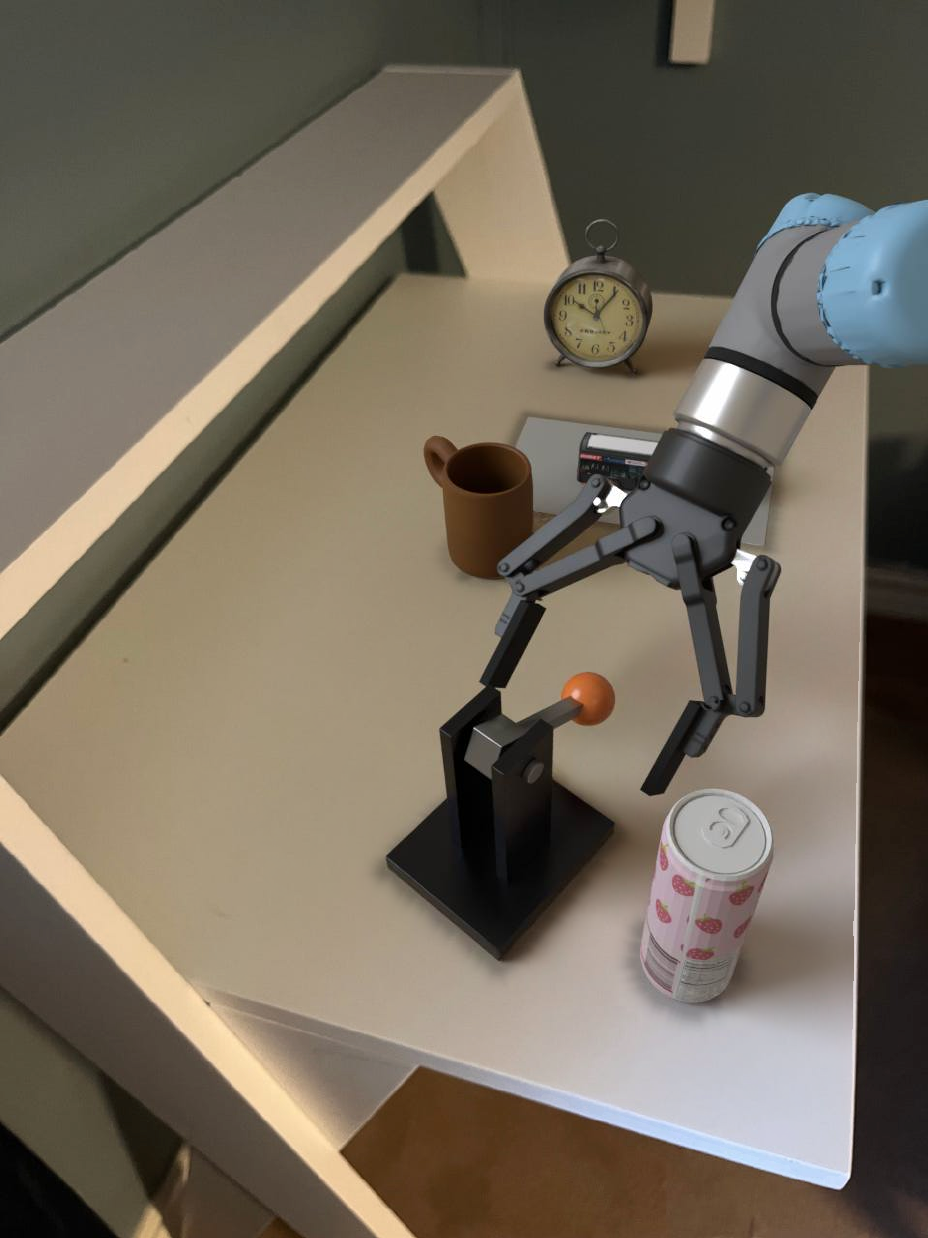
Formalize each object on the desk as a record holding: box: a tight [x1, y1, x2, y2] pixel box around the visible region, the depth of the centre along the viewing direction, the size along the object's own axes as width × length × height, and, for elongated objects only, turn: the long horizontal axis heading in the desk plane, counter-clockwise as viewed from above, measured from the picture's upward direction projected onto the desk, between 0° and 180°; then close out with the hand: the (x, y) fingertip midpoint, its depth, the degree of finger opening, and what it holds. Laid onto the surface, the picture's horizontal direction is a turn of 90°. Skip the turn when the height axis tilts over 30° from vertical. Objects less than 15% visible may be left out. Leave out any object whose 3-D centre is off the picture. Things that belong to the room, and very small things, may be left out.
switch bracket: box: [385, 684, 616, 962], centre depth 60 cm, size 12×10×14 cm
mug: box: [423, 435, 534, 579], centre depth 84 cm, size 12×8×9 cm, turn 40°
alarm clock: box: [543, 218, 654, 375], centre depth 100 cm, size 11×5×16 cm, turn 73°
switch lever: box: [464, 671, 616, 779], centre depth 61 cm, size 13×4×4 cm, turn 138°
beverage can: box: [639, 788, 775, 1004], centre depth 54 cm, size 6×6×15 cm
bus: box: [514, 416, 775, 547], centre depth 91 cm, size 14×25×4 cm, turn 73°
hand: (567, 736), depth 65 cm, fingers open, 13 cm apart
